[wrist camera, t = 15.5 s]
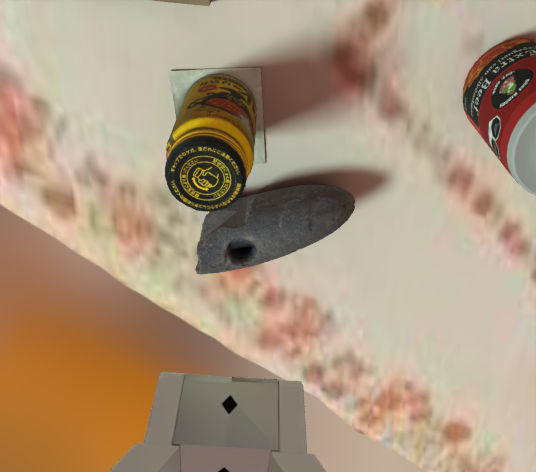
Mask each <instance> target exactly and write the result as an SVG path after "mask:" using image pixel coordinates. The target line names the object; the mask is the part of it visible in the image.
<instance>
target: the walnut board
mask: <svg viewBox="0 0 536 472" xmlns="http://www.w3.org/2000/svg"><path fill="white" fill-rule="evenodd" d="M154 1H164V2H174V3H183V4H193V5H203V6H209V5H210V3H211V0H154Z"/></svg>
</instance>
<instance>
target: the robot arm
mask: <svg viewBox="0 0 536 472" xmlns="http://www.w3.org/2000/svg"><path fill="white" fill-rule="evenodd" d="M109 472H326V470H325V469H324V468H323V466H322V465H321V463H320V462H319V460H318V459H317V458H316V456H315V455H314V454H308V453H307V444H306V425H305V408H304V390H303V384H302V382H301V381H285V380H277V379H261V378H243V377H232V378H227V377H216V376H206V375H195V374H185V373H172V372H161V374H160V377H159V379H158V383H157V387H156V391H155V396H154V400H153V404H152V409H151V413H150V417H149V422H148V426H147V430H146V435H145V439H144V443H136V444H135V445H134V446H133V447H132V448H131V449H130V450H129V451H128V452H127V453H126V454H125V455H124V456H123V457H122V458H121V459H120V460H119V461H118V462H117V464H115V465H114V466H113V468H111V469H110V470H109Z"/></svg>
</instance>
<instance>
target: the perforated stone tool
mask: <svg viewBox="0 0 536 472" xmlns="http://www.w3.org/2000/svg"><path fill="white" fill-rule="evenodd" d="M354 203H355V200H354V197H353V196H352V195H351V194H350V193H349V192H347V191H346V190H343V189H341V188H338V187H333V186H328V185H316V184H315V185H299V186H293V187H287V188H282V189H277V190H272V191H267V192H263V193H259V194H254V195H250V196H246V197H244V198H238V200H237V201H236V202H234V203H233V204H231V205H230V206H228V207H227V208H225V209H221V210H218V211H210V212H209V213H208V214H207V215H206V217H205V219H204V223H203V224H202V225H203V227H202V232H201V237H200V241H199V242H198V246H197V255H198V259H199V260H198V264H197V266H196V272H197V274H208V273H218V272H225V271H231V270H236V269H241V268H245V267H250V266H254V265H257V264H261V263H264V262H268V261H271V260H274V259H277V258H279V257H283V256H285V255H288V254H290V253H292V252H295V251H297V250H298V249H302V248H304V247H306V246H309V245H311V244H313V243H315V242H317V241H319V240H321V239H323V238H324V237H326V236H328V235H329V234H331V233H333V232H334V231H336V230H337V229H338V228H339V227H341V225H343V224H344V223H345V221H347V220H348V218H349V217H350V216H351V214H352V213H353V211H354V209H355V206H354Z"/></svg>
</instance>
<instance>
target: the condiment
mask: <svg viewBox="0 0 536 472" xmlns="http://www.w3.org/2000/svg"><path fill="white" fill-rule="evenodd" d="M169 74H170V81H171V87H172V93H173V100H174V105H175V113H176V122H175V125H174V127H173V130H172V133H171V135H170V138H169V140H168V142H167V162H166V167H165V177H166V180H167V185H168V188H169V190H170V191H171V193H172V195H173V196H174V197H175V198H176V199H177V200H179V201H180V202H182V203H183V204H185V205H186V206H188V207H191V208H193V209H195V210H198V211H218V210H221V209H225V208H227V207H228V206H230V205H231V204H233V203H234V202H236V201H237V200H238V198H239V196H240V195H241V194H242V191H243V190H244V187H246V186H245V183H246V180H247V178H248V175H249V174H250V172H251V169H252V166H253V164H262V163H265V145H264V124H263V102H262V81H261V68H227V69H201V70H183V71H169Z"/></svg>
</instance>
